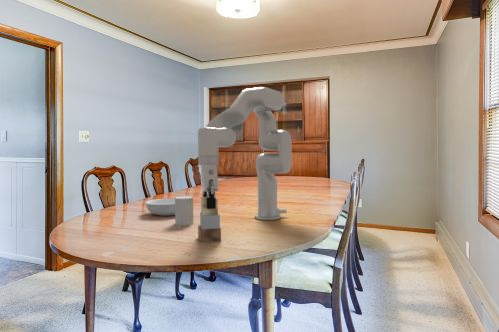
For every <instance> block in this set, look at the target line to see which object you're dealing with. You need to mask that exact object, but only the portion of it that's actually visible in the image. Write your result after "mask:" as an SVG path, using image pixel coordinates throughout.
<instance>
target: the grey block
mask: <svg viewBox="0 0 499 332" xmlns="http://www.w3.org/2000/svg"><path fill="white" fill-rule="evenodd" d="M199 217H200V218H199V221H200V223H199V225H200V226H201V228H202V229H217V228H221V220H220V218H221V215H220V214H219V212H218V215H204V216H203V215H202V213H201V211H200V212H199Z"/></svg>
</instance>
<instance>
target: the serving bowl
mask: <svg viewBox="0 0 499 332" xmlns="http://www.w3.org/2000/svg"><path fill="white" fill-rule="evenodd" d="M145 206H146V209H147V210H148V212H150V214H153V215H156V216H157V215H158V216H161V217H169V215H170V216H175V215H174V214H175V198H159V199H158V198H157V199H156V198H155V199H150V200H148V201H146V202H145Z"/></svg>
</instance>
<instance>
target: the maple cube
mask: <svg viewBox="0 0 499 332" xmlns="http://www.w3.org/2000/svg"><path fill="white" fill-rule="evenodd" d="M215 197H216V196H215ZM207 198H208V197H203V196H200V212H201V213H202V215H203V216H204V215H218V213H219V205H218V203H219V199H218V197H216V208H215V209H207Z"/></svg>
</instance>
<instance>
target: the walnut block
mask: <svg viewBox="0 0 499 332" xmlns="http://www.w3.org/2000/svg"><path fill="white" fill-rule="evenodd" d="M197 230H198V231H197V237H198V239H199V242H200V244H205V243H217V242H222V228H221V227H220V228H217V229H202V228H201V226H200V224H198V226H197Z"/></svg>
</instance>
